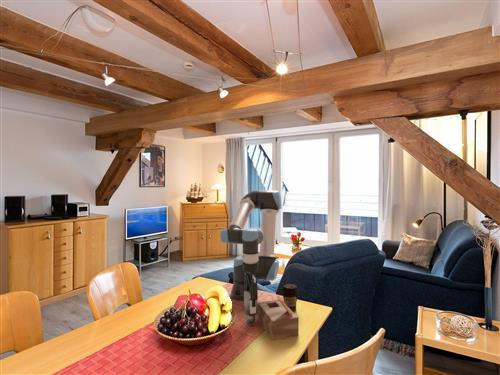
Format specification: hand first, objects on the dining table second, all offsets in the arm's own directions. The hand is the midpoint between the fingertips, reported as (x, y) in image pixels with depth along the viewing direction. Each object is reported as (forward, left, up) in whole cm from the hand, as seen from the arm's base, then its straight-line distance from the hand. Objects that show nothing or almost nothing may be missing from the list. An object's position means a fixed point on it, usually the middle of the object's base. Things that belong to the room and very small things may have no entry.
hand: (250, 309), depth 133 cm
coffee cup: (-7, +24, -7) cm, 26 cm away
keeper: (+12, +12, +5) cm, 17 cm away
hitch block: (+6, +11, -7) cm, 14 cm away
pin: (0, 0, -6) cm, 6 cm away
